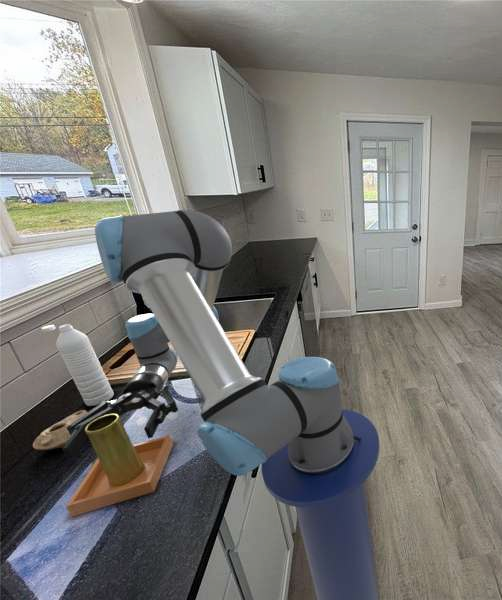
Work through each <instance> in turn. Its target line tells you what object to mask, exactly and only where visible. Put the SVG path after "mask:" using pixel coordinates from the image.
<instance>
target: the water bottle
mask: <svg viewBox="0 0 502 600" xmlns="http://www.w3.org/2000/svg"><path fill="white" fill-rule="evenodd" d="M73 327H74V326H72V324H71V323H65V324H62V325H60V326H59V327H58V331H59V335H58V337H57V338H56V339H57V340H56V343H55V346H56V349H57V350H58V352H59V355H60V356H61V358H62V360H63V363H64V364H65V366H66V368H67V370H68V373H69V374H70V376H71V379H72V380H73V382H74V384H75V386H76V388H77V391H78V392H79V394H80V396H81V397H82V400H83V402H84V405H86V406H88V407H94V406H95V407H96V406H98V405H99V404H100V403H101V402H102V401H103V400H105V399H107V398H110V400H111V399H112V398H113V397H114V395H115V394H114V393H115V392H114V390H113V388H112V387H111V384H110V382H109V380H108V377H107V376H106V373H105V372H104V369H103V367H102V365H101V362H100V361H99V359H98V356H97V354H96V352H95V349H94V348H93V346H92V343H91V341H90V338H89V337H88V335H87V334H85V333H83V332H82V331H80V330H78V329H75V328H73ZM40 329H41V331H42V332H43V333H45V332H51V331H53V330H55V329H56V326H55V324H49V325H45V326H42V327H41V328H40Z"/></svg>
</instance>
